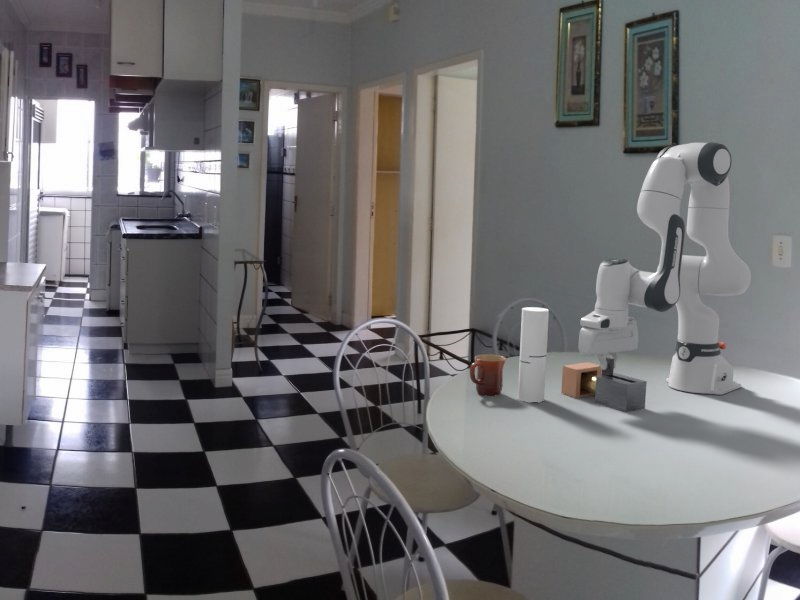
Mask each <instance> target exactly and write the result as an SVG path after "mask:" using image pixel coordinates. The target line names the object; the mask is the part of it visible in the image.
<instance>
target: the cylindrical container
mask: <svg viewBox="0 0 800 600" xmlns="http://www.w3.org/2000/svg"><path fill="white" fill-rule="evenodd" d="M549 313H550V310H549V309H548V308H545V307H544V308H543V307H536V306H535V307H534V306H530V307H527V306H525V307H522V308H521V324H520V344H519V345H520V346H519V361H518V363H519V365H518V367H519V368H518V386H517V399H519V400H518V401H520V400H521V402H523V401H525V403H530V402H538V403H542V401H543V402H544V401H545V391H546V389H545V387H546V370H547V369H546V368H547V353H548V352H547V350H548V332H549V331H548V330H549V315H550V314H549Z"/></svg>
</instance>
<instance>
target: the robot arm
mask: <svg viewBox="0 0 800 600" xmlns="http://www.w3.org/2000/svg"><path fill="white" fill-rule="evenodd" d="M732 159H733V158H732V154H731V152H730V150H729V149H728V147H727V146H726V145H724V143H723V144H722V143H720V142H719V143H718V142H713V141H712V142H711V141H710V142H689V143H683V144H678V145H676V144H675V145H669V146H666V147H664V148H663V149H662V150H660V151H659V153H658V154H657V155H656V158H655V160H654V161H653V162H652V163H651V165H650V167H649V169H648V171H647V173H646V175H645V178H644V180H643V183H642V187H641V189H640V193H639V196H638V200H637V205H636V213H637V216H638V218H639V219H640V221H641V222H642V223H643V224H644V225H645V226H646V227H649V229H652V230H653V231H654V232H656V233H657V234H658V236H659V237H660V241H661V248H660V256H659V262H658V263H659V264H658V265H657V268H656V272H651V271H645V270H639V269H638V268H636V267H634V266H632V265H631V264H630V262H629V260H628V259H627V258H626V259H625V258H623V257H619V258H617V257H615V258H608V259H605V260H603V261H601V263H600V264H599V268H598V272H597V275H596V281H595V282H596V283H595V285H596V286H595V293H596V294H595V295H596V302H595V305H594V310H593V311H591V312H590V313H588V314H586V315H585V316H583V317H581V319H580V326H581V327H582V328H581V329H580V331H579V335H578V336H579V337H578V352H579V353H580V355H582V356H585V357H593V356H594V357H595V356H597V358H598V360H599V363H600V364H599V365H600V368H601V369H603V370H606V369H609V363H607V361H606V358H608V354H610V357H609V358H611V359H614V369H616V364H617V361H618V360H619V357H620V353H621V352H628V351H635V350H637V349H638V347H639V330H638V328H639V327H638V325H637V324H638V322H637V320H636V318H634V317H633V316H629V309H630V308H629V307H630V306H629V305H633V306H636V307H640V308H647V309H649V310H653V311H656V312H659V313H664V312H667V311H668V310H670V309H672V308H673V307H675V306H676V309H677V316H678V317H677V319H678V321H677V322H678V325H677V328H678V329H677V338H676V340H675V343H674V346H675V347H674V351H675V354H673V356H672V359H671V364H670V369H669V370H670V372H669V376H668V377H666V380H665V381H666V382H667V385H668V386H669V388H672V389H675V390H678V391H682V392H685V393H686V392H687V393H693V394H695V393H696V394H709V395H720V396H721V395H725V394H727V393H729V392H732V391H736V390H737V389H741V388H742V383H740V382H738V381H735V380H734V367H733V366H732V365H731V364H730V363H729V362H728V360H726V358H724V357H723V356H722V355H721V353H722V352H721V350H723V351H725V350H726V348H727V344H726V342H722V341H718V340H719V339H718V338H719V331H720V330H719V329H720V317H719V315H718V313H717V312H716V311H715V310H714V309H713V308H711V307H709V306H707V305H705V304H704V303H703V302H702V300H701V297H700V295H709V296H720V297H729V296H731V297H732V296H739V295H742V294H744V293H745V292H746V291H747V290H748V289H749V286H750V284H751V280H752V273H751V270H750V267H749V266H748V264H747V263H746V262H745V261H743V259H742V258H740V256H738V254H736V252H735V250H734V249H733V247H732V244H731V242H730V237H729V236H730V235H729V216H730V201H731V200H730V198H731V197H730V196H731V194H730V180H729V176H728V175H729V173H730V171H731V167H732ZM686 184H689V185H690V188H691V189H690V194H689V198H688V199H689V201H688V209H687V220H686V224H685V222H684V219H683V218H682V217H681V213H680V212H681V209H680V208H681V203H682V199H683V196H684V191H685V185H686ZM685 226H686V227H685ZM685 229H686V230H685ZM685 231H686V234H685ZM685 235H687V236H688V238H689V240H691V241H693V242H694V243H697V244H698V245H700V246H702V247H703V248H704V250H705V252H706V255H704V256H702V255H700V256H699V255H689V254H688V255H687V254H685V255H684V254H683V252H684V245H685V244H684V243H685Z"/></svg>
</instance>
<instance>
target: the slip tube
mask: <svg viewBox="0 0 800 600" xmlns="http://www.w3.org/2000/svg"><path fill="white" fill-rule="evenodd" d="M606 361H607V363H609V369H606V370H603V369H602V373H601V375H606V376H609V377H613V373H614V369H615V368H614V359H611V358H610V357H607V358H606ZM580 390H583V391H587V392H590V393H593V394H594V395H595V392H596V375H592V374H588V373H585V372H582V373H581V382H580Z"/></svg>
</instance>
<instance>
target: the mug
mask: <svg viewBox="0 0 800 600" xmlns="http://www.w3.org/2000/svg"><path fill="white" fill-rule="evenodd" d="M474 360H475V362H473V363H472V364H471V365H469V366H470V367H469V378H470V380H471V381H472V383H473V384H475V389H476V392H477V393H478V394H479V395H480V394H481V396H484V395H487V396H486V397H496V396H495V395H497V396H499V395H501V394H502V391H503V386H504V385H503V384H504V383H503V382H504V368H505V367H504V366H505V364H506V361H507V358H506V357H505V356H502V355H498V354H478V355H477V354H476V355H475V356H474Z"/></svg>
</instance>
